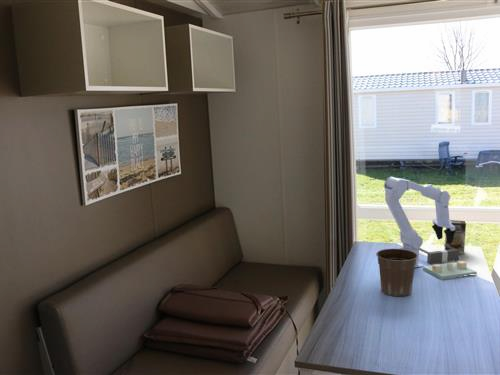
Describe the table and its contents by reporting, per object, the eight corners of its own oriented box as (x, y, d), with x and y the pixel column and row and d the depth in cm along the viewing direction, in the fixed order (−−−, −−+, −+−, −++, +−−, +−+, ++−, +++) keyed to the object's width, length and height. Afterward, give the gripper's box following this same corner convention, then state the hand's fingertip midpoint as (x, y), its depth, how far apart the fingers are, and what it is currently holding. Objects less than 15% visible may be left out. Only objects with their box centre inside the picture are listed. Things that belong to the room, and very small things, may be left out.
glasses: (430, 263, 248) (430, 253, 247) (417, 257, 257) (417, 247, 257) (458, 260, 252) (459, 250, 251) (445, 253, 262) (445, 244, 261)
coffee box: (445, 253, 262) (446, 222, 259) (444, 249, 268) (445, 219, 266) (464, 254, 260) (466, 223, 257) (463, 250, 266) (464, 220, 263)
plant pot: (371, 295, 212) (371, 257, 209) (380, 282, 226) (381, 246, 223) (411, 301, 204) (413, 262, 201) (419, 287, 218) (420, 251, 215)
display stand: (441, 279, 227) (442, 271, 226) (422, 269, 240) (423, 261, 239) (476, 274, 232) (476, 266, 231) (455, 265, 245) (456, 257, 244)
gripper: (459, 215, 240) (462, 243, 243) (440, 209, 254) (442, 235, 257) (446, 219, 239) (449, 246, 242) (427, 212, 252) (430, 238, 255)
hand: (445, 241), depth 249 cm, fingers open, 7 cm apart
